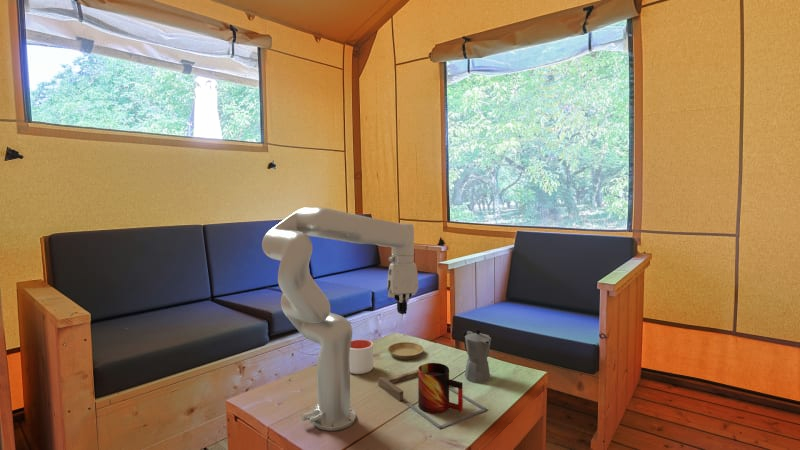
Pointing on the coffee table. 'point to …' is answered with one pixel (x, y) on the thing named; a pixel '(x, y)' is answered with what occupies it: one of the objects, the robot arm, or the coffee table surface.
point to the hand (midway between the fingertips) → (401, 312)
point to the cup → (361, 356)
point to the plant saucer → (405, 350)
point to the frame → (453, 420)
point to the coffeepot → (477, 356)
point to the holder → (391, 388)
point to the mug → (436, 389)
